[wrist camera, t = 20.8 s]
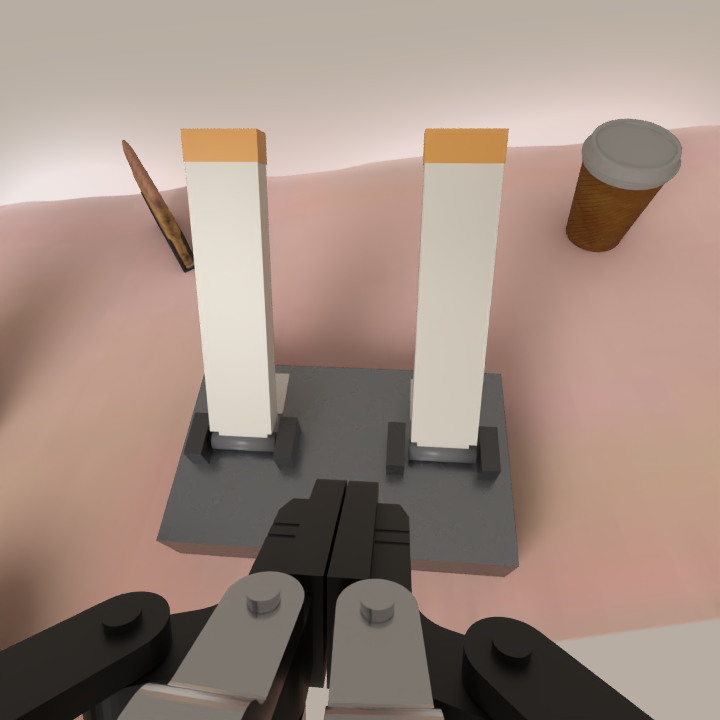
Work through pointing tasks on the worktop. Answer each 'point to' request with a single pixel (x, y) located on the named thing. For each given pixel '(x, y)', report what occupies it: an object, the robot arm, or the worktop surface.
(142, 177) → the ammunition clip
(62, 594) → the worktop surface
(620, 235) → the disposable coffee cup
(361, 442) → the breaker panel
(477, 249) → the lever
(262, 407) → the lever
